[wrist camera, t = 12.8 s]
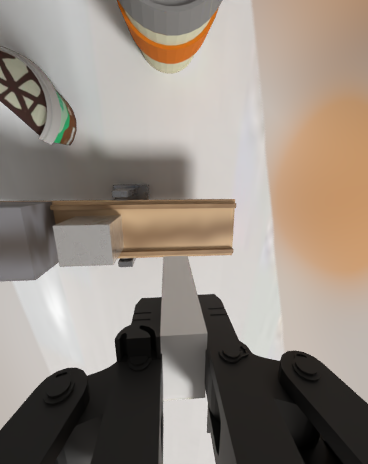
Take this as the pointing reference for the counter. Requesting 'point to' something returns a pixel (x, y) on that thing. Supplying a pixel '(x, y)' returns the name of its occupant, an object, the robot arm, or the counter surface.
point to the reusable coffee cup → (169, 29)
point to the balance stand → (131, 194)
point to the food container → (35, 99)
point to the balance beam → (133, 226)
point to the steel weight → (89, 240)
